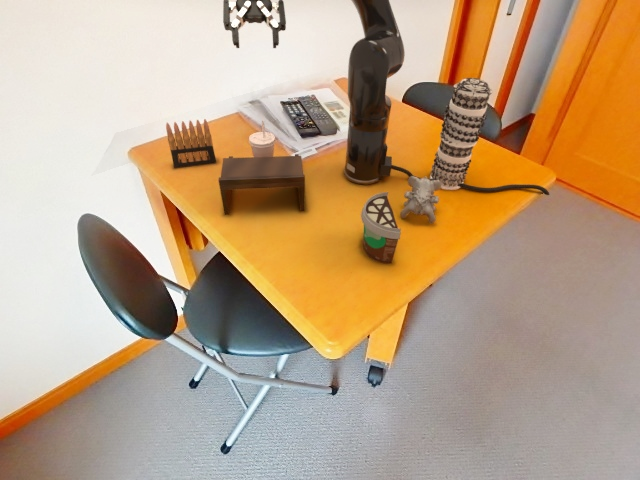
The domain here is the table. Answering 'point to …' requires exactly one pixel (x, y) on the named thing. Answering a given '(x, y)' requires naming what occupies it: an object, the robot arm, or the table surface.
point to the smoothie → (262, 143)
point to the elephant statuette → (421, 197)
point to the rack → (261, 175)
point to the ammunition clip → (190, 149)
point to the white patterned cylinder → (460, 132)
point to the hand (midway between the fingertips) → (256, 46)
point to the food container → (379, 229)
